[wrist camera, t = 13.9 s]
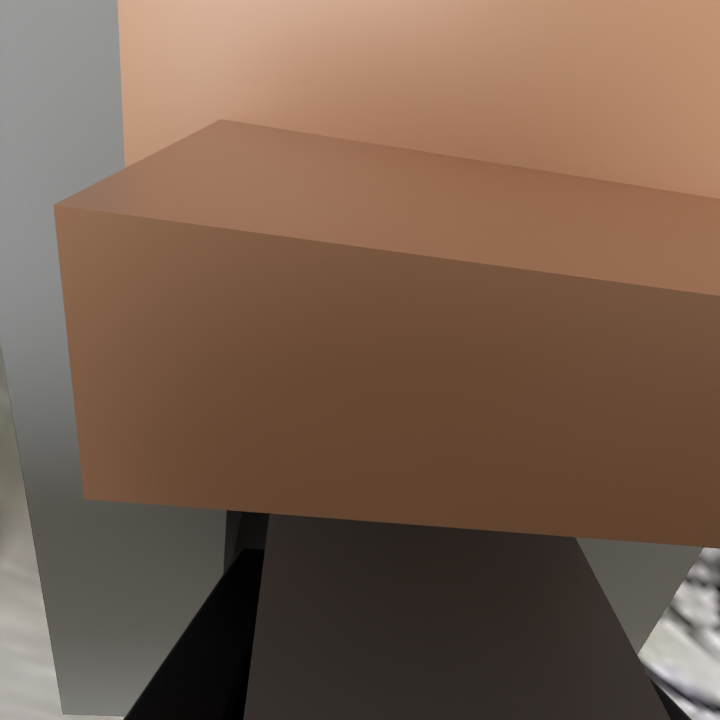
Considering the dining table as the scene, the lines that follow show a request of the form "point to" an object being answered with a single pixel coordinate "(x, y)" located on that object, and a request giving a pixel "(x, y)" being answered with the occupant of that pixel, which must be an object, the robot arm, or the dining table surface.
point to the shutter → (408, 265)
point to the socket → (56, 403)
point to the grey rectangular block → (436, 628)
